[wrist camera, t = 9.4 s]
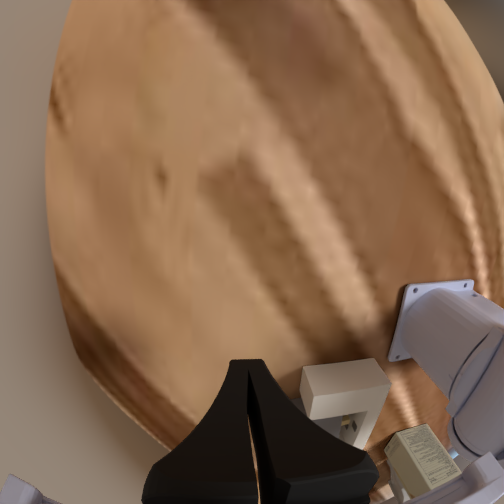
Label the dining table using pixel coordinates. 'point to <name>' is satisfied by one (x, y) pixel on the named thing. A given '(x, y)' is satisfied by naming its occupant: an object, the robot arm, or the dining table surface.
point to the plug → (326, 420)
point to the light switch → (397, 486)
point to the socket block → (346, 395)
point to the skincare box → (420, 460)
